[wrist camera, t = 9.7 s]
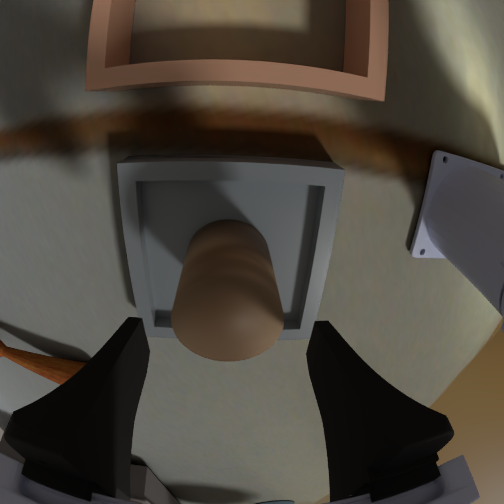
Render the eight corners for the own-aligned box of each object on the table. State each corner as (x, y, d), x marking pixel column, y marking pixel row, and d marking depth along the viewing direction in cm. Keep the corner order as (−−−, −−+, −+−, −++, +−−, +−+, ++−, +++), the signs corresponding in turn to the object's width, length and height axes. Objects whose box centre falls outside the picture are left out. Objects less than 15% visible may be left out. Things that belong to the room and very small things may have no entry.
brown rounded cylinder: (272, 220, 17) (291, 278, 12) (265, 291, 20) (277, 361, 14) (185, 218, 17) (165, 275, 12) (189, 290, 19) (177, 359, 14)
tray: (333, 162, 17) (345, 170, 15) (305, 320, 22) (311, 338, 21) (128, 156, 16) (117, 163, 14) (148, 318, 21) (142, 336, 20)
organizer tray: (82, 488, 52) (77, 515, 44) (3, 419, 33) (-12, 458, 25) (190, 506, 55) (189, 537, 46) (151, 458, 35) (145, 512, 27)
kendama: (91, 417, 23) (-54, 357, 17) (101, 367, 27) (-37, 318, 22) (83, 397, 19) (-76, 327, 14) (97, 339, 24) (-53, 285, 18)
